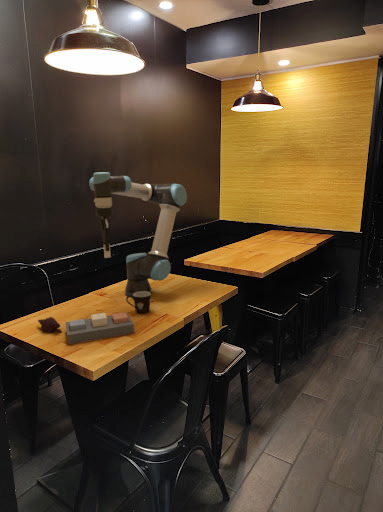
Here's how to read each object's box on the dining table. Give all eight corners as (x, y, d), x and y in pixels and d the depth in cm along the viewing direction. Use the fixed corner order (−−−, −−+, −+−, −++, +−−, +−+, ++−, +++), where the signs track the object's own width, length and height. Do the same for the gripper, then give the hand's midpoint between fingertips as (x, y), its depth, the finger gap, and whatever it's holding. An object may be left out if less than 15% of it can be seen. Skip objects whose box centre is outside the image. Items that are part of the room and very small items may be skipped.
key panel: (127, 322, 171) (127, 312, 170) (134, 335, 158) (133, 324, 157) (66, 332, 161) (65, 322, 160) (68, 346, 148) (67, 335, 147)
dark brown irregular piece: (29, 318, 161) (51, 328, 154) (42, 309, 167) (65, 318, 159) (33, 331, 165) (55, 341, 157) (46, 321, 170) (69, 331, 163)
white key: (105, 321, 162) (104, 312, 161) (107, 326, 157) (106, 317, 156) (91, 323, 160) (90, 314, 159) (93, 328, 155) (92, 319, 154)
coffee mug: (155, 312, 183) (154, 293, 181) (143, 318, 176) (142, 298, 174) (137, 307, 189) (136, 289, 187) (125, 313, 182) (124, 294, 180)
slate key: (84, 327, 160) (83, 318, 159) (86, 332, 154) (85, 324, 153) (70, 329, 157) (69, 321, 157) (71, 335, 152) (70, 326, 151)
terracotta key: (125, 320, 166) (125, 312, 165) (128, 325, 160) (128, 317, 159) (112, 322, 164) (111, 314, 163) (114, 328, 158) (114, 319, 157)
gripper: (93, 206, 172) (97, 255, 178) (97, 208, 160) (101, 261, 166) (109, 205, 175) (113, 253, 180) (114, 207, 163) (118, 259, 168)
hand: (107, 257), depth 173 cm, fingers closed
